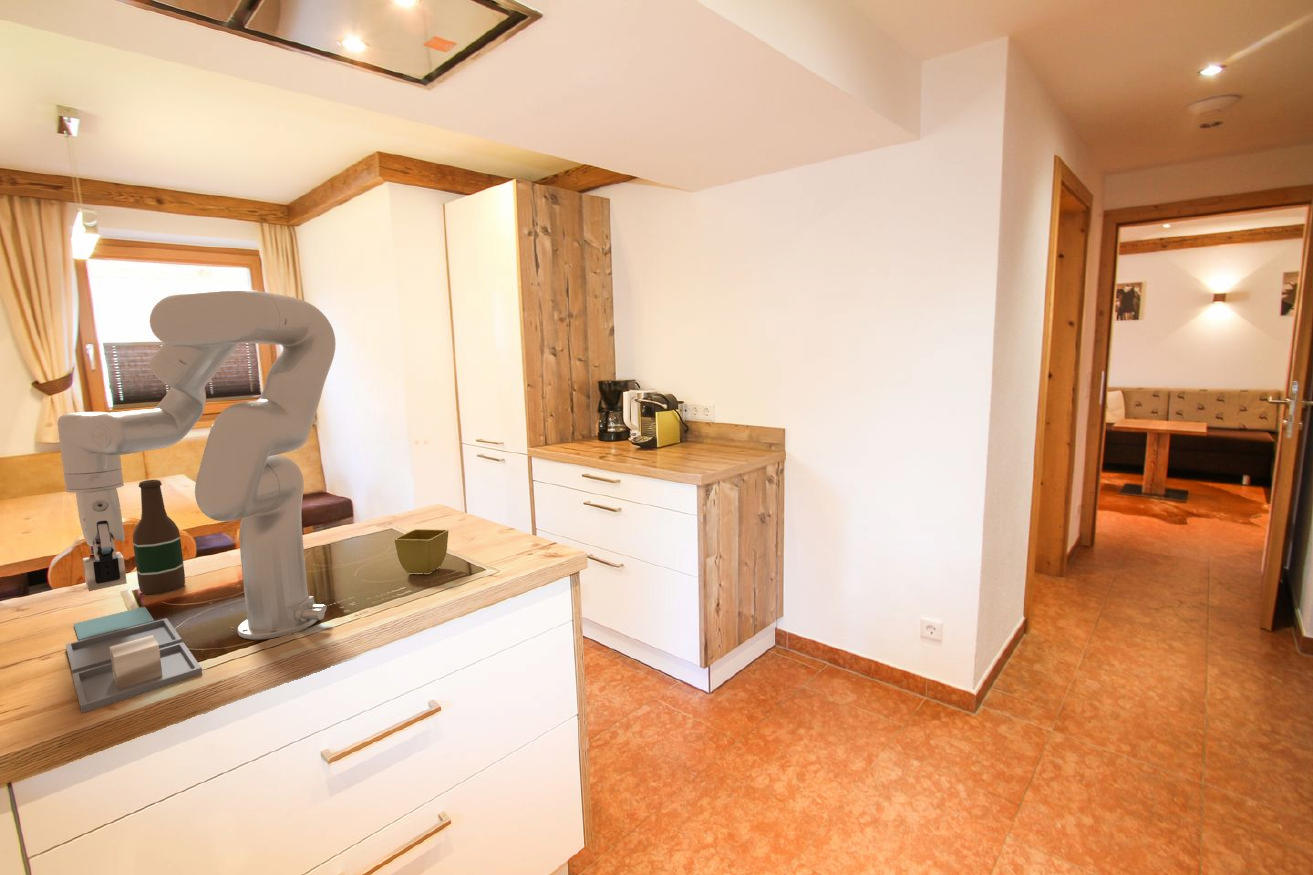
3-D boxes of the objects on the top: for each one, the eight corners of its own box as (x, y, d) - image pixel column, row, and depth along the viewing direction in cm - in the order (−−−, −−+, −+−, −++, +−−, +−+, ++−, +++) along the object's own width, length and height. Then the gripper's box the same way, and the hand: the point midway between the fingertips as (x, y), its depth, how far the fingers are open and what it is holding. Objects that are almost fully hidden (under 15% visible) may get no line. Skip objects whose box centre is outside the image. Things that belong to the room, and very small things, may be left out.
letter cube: (126, 583, 106) (123, 556, 106) (89, 591, 102) (85, 563, 102) (122, 577, 109) (119, 550, 109) (86, 584, 106) (82, 557, 105)
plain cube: (162, 675, 88) (158, 644, 87) (118, 689, 84) (113, 657, 84) (156, 665, 91) (152, 635, 91) (113, 677, 88) (109, 646, 87)
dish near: (202, 676, 88) (201, 667, 88) (82, 715, 79) (80, 706, 78) (184, 649, 97) (183, 641, 97) (73, 682, 87) (72, 673, 87)
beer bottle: (158, 596, 121) (144, 484, 118) (129, 594, 123) (115, 483, 120) (195, 583, 129) (182, 477, 126) (167, 581, 130) (154, 476, 127)
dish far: (182, 646, 98) (181, 638, 98) (73, 678, 88) (72, 669, 88) (167, 625, 107) (166, 617, 107) (66, 651, 97) (65, 644, 97)
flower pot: (417, 564, 138) (414, 528, 137) (451, 565, 137) (449, 529, 136) (396, 577, 130) (393, 539, 129) (432, 579, 129) (429, 540, 128)
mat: (154, 624, 107) (154, 620, 107) (79, 643, 100) (78, 639, 100) (145, 610, 114) (145, 606, 114) (74, 627, 106) (73, 623, 106)
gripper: (129, 483, 101) (140, 583, 103) (116, 472, 112) (126, 562, 114) (68, 490, 95) (82, 595, 97) (61, 477, 106) (73, 572, 109)
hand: (106, 576), depth 106 cm, fingers closed on letter cube, 4 cm apart
